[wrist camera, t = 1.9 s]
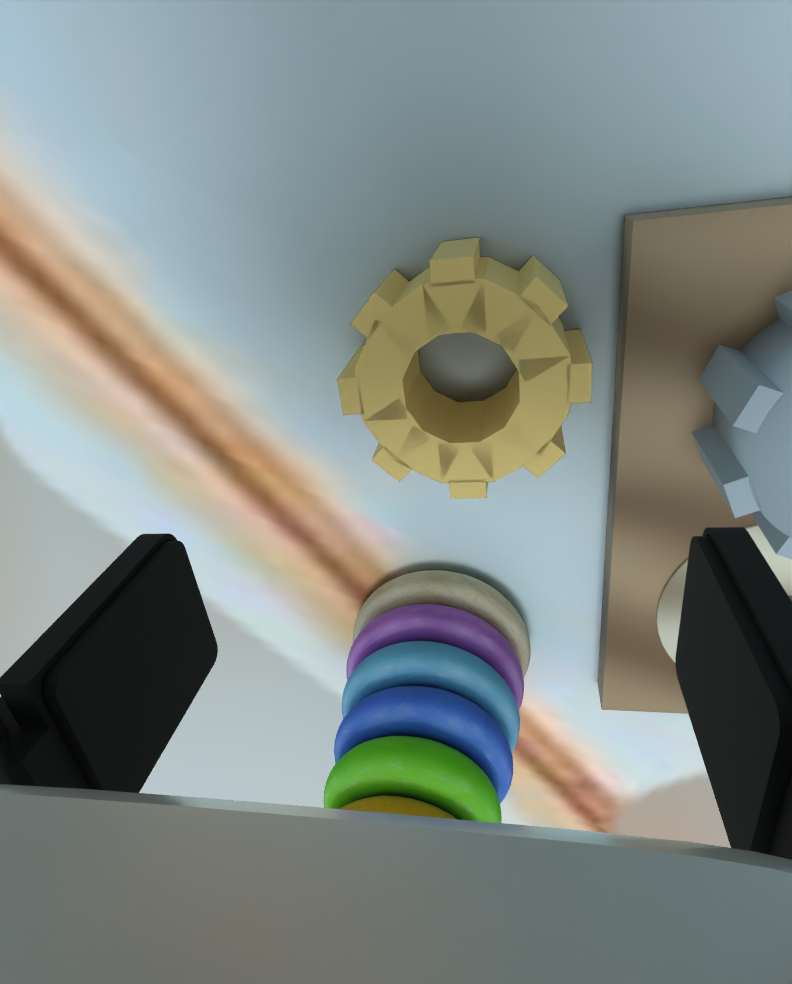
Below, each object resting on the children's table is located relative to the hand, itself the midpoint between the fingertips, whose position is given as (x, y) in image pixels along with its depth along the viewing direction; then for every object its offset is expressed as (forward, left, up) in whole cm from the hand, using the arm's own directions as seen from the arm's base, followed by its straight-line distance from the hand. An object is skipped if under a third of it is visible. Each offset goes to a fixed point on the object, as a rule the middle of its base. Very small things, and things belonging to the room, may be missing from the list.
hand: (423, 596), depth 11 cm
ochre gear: (-1, 0, -12) cm, 12 cm away
